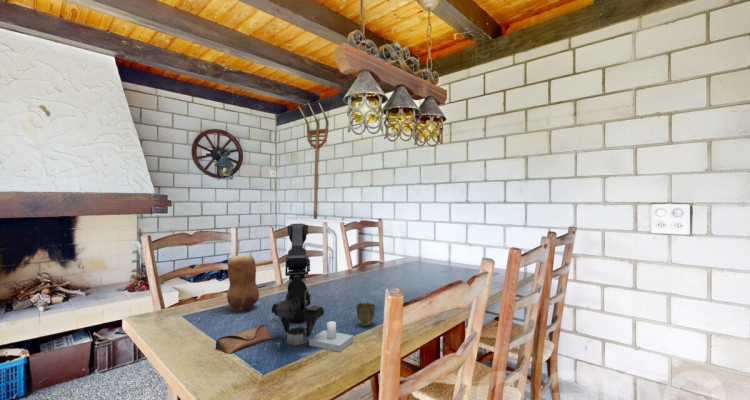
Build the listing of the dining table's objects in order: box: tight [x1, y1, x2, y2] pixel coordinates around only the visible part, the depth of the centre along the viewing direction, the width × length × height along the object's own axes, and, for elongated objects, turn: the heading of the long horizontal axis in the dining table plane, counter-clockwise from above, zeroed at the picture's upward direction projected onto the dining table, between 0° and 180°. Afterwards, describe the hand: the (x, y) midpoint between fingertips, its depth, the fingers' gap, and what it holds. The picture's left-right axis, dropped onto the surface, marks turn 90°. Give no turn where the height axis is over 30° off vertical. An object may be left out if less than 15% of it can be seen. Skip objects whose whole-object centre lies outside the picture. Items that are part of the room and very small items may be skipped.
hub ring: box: [286, 326, 309, 346], centre depth 115 cm, size 7×7×4 cm
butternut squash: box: [226, 254, 260, 311], centre depth 151 cm, size 14×13×25 cm
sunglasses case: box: [215, 324, 275, 355], centre depth 115 cm, size 18×7×7 cm
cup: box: [355, 301, 376, 327], centre depth 130 cm, size 8×7×8 cm
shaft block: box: [308, 320, 354, 353], centre depth 113 cm, size 12×9×7 cm
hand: (297, 334), depth 116 cm, fingers open, 9 cm apart
